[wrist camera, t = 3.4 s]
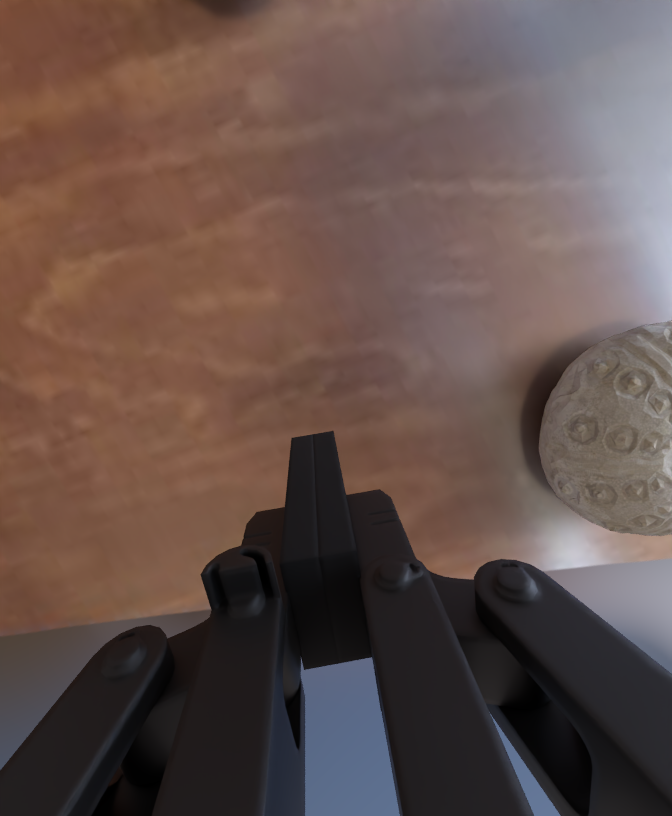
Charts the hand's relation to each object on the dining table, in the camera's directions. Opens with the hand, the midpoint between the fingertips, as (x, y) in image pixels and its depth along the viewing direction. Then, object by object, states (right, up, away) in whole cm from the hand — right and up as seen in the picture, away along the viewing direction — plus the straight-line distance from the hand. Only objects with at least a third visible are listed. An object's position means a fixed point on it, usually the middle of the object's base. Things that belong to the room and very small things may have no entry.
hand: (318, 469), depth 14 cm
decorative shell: (+26, +1, +22) cm, 35 cm away
